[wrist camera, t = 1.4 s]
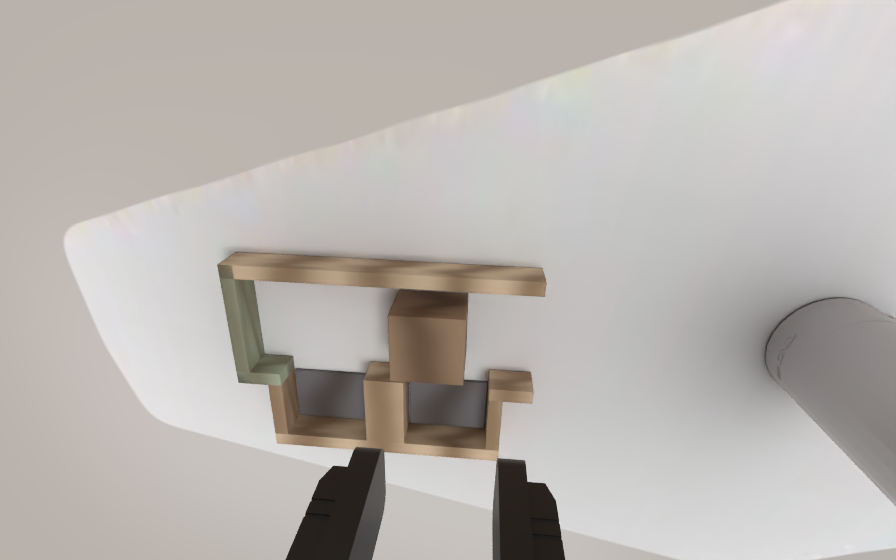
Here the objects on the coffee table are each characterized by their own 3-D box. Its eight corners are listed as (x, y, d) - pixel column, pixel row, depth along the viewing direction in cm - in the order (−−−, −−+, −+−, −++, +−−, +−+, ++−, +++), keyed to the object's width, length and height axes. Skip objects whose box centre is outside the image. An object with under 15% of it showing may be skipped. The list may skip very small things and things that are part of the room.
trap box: (542, 268, 39) (546, 282, 36) (523, 440, 46) (525, 463, 43) (235, 252, 40) (217, 264, 38) (263, 420, 47) (249, 441, 45)
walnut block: (468, 292, 40) (465, 320, 36) (466, 352, 43) (463, 385, 38) (399, 289, 41) (387, 315, 36) (400, 348, 43) (390, 380, 38)
